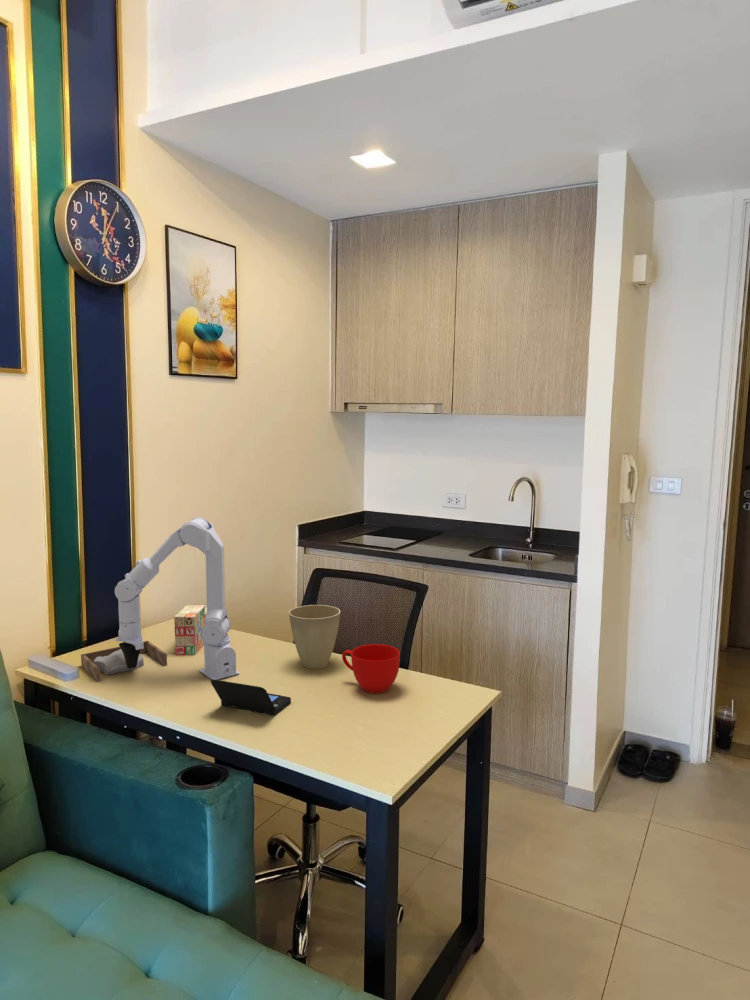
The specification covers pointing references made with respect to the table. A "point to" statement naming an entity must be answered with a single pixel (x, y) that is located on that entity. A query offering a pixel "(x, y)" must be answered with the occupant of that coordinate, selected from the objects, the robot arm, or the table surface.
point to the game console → (249, 697)
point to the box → (89, 658)
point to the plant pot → (314, 633)
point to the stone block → (115, 663)
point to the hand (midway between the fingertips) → (131, 667)
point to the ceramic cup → (374, 666)
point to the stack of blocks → (189, 629)
